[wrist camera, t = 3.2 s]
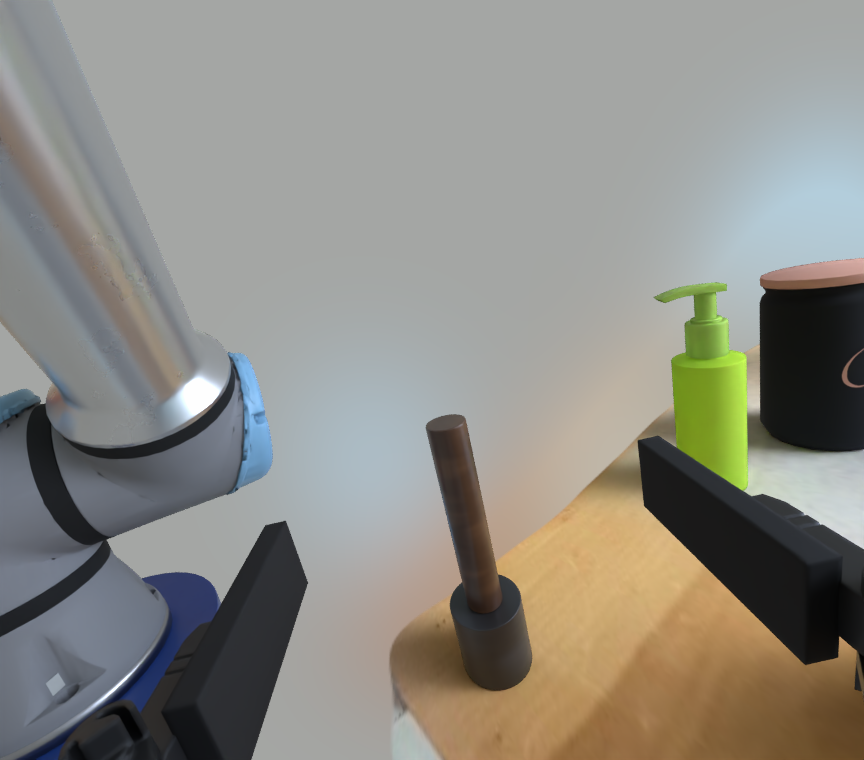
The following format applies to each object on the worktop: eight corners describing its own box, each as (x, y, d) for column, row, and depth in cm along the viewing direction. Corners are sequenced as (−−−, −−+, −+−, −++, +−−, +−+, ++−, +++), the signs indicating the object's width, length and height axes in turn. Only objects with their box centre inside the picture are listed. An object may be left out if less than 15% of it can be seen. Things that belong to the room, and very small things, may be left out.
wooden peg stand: (469, 698, 27) (405, 448, 22) (459, 635, 32) (405, 416, 27) (541, 681, 27) (493, 428, 22) (521, 621, 32) (478, 400, 27)
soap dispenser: (659, 469, 46) (646, 289, 41) (729, 462, 45) (725, 275, 39) (680, 499, 41) (668, 296, 35) (760, 493, 39) (760, 279, 34)
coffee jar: (856, 465, 40) (868, 276, 35) (739, 433, 50) (736, 282, 45) (913, 428, 44) (931, 252, 39) (793, 405, 53) (796, 262, 48)
